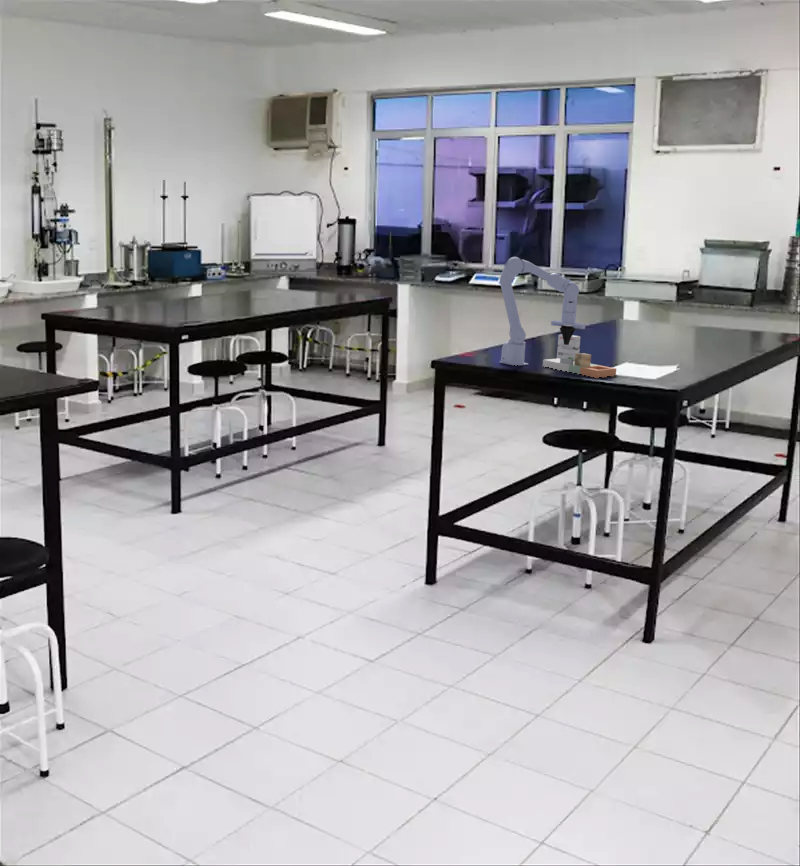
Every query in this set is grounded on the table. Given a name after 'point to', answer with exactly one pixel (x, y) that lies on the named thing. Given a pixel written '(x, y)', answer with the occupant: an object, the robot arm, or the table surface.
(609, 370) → the channel deck
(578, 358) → the maple block
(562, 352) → the ink box
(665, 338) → the table surface
